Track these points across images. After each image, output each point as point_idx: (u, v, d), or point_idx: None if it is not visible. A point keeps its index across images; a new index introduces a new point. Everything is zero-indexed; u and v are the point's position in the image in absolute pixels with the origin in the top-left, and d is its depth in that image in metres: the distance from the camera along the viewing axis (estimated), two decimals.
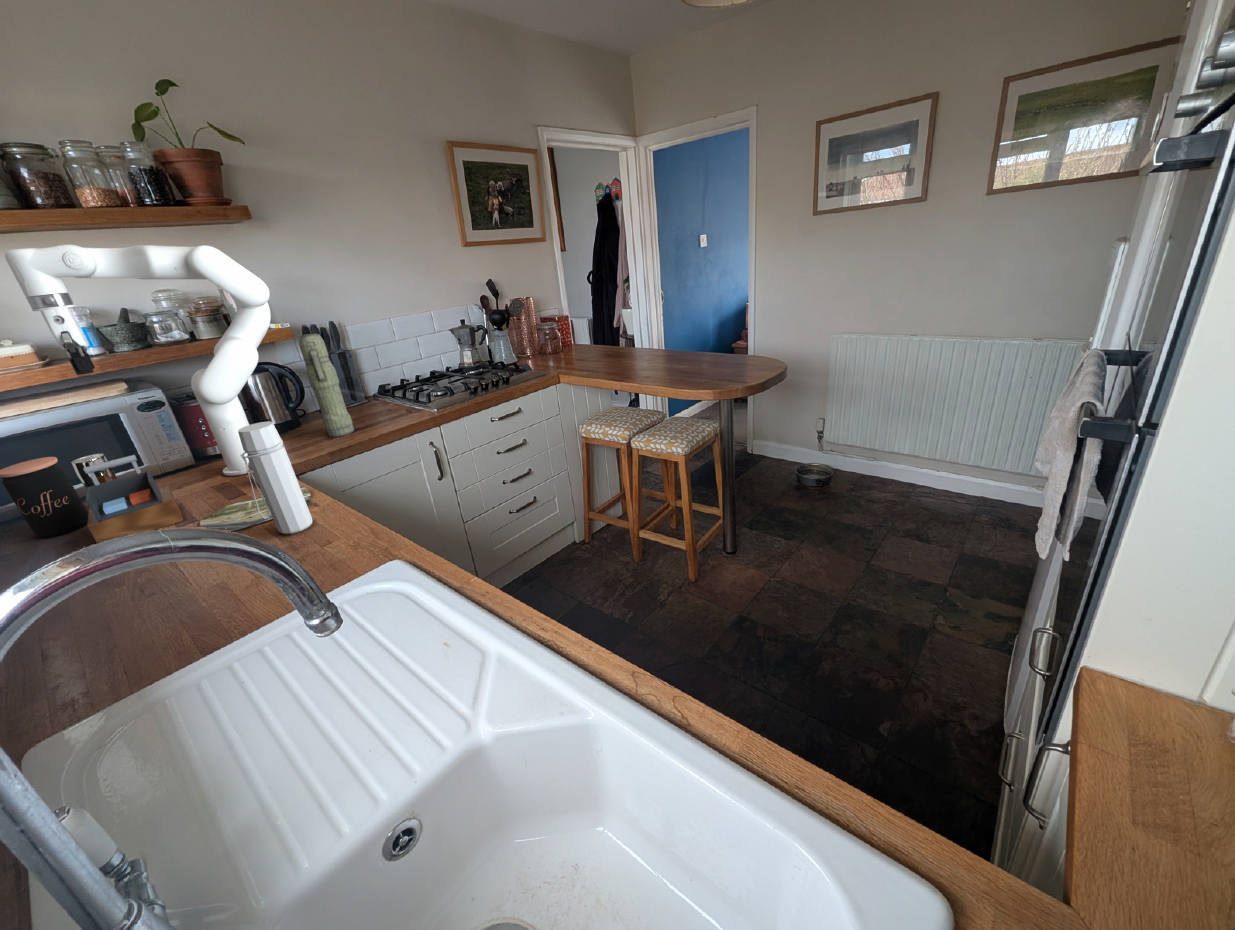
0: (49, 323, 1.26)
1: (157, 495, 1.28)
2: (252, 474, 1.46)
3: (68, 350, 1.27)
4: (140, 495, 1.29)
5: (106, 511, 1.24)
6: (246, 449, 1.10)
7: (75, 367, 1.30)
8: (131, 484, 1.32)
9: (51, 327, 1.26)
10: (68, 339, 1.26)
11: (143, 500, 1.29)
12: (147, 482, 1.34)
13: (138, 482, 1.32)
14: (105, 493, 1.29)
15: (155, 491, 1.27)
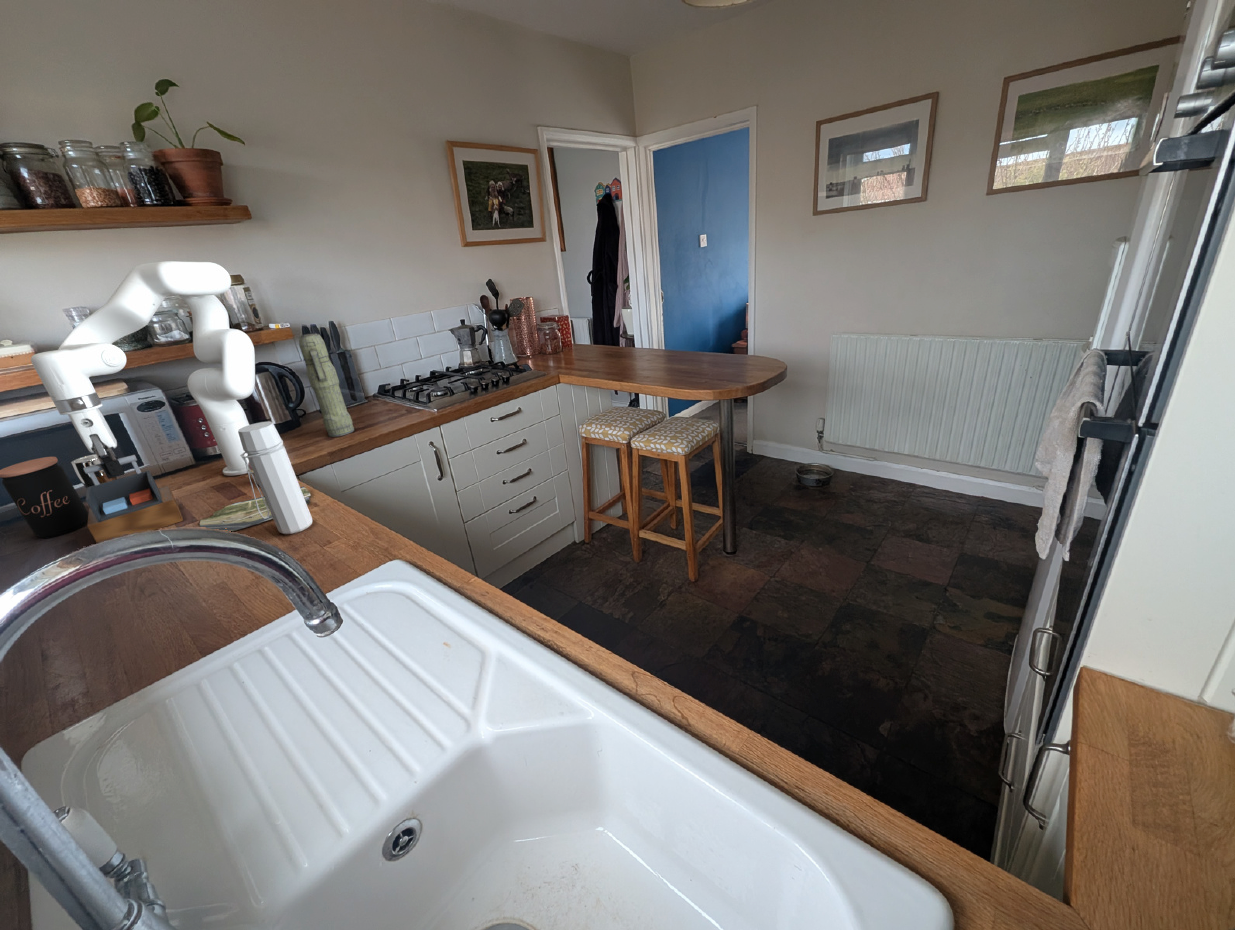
0: (77, 427, 1.20)
1: (157, 495, 1.28)
2: (252, 474, 1.46)
3: (100, 456, 1.24)
4: (140, 495, 1.29)
5: (106, 511, 1.24)
6: (246, 449, 1.10)
7: (106, 471, 1.27)
8: (131, 484, 1.32)
9: (79, 431, 1.20)
10: (103, 452, 1.23)
11: (143, 500, 1.29)
12: (147, 482, 1.34)
13: (138, 482, 1.32)
14: (105, 493, 1.29)
15: (155, 491, 1.27)
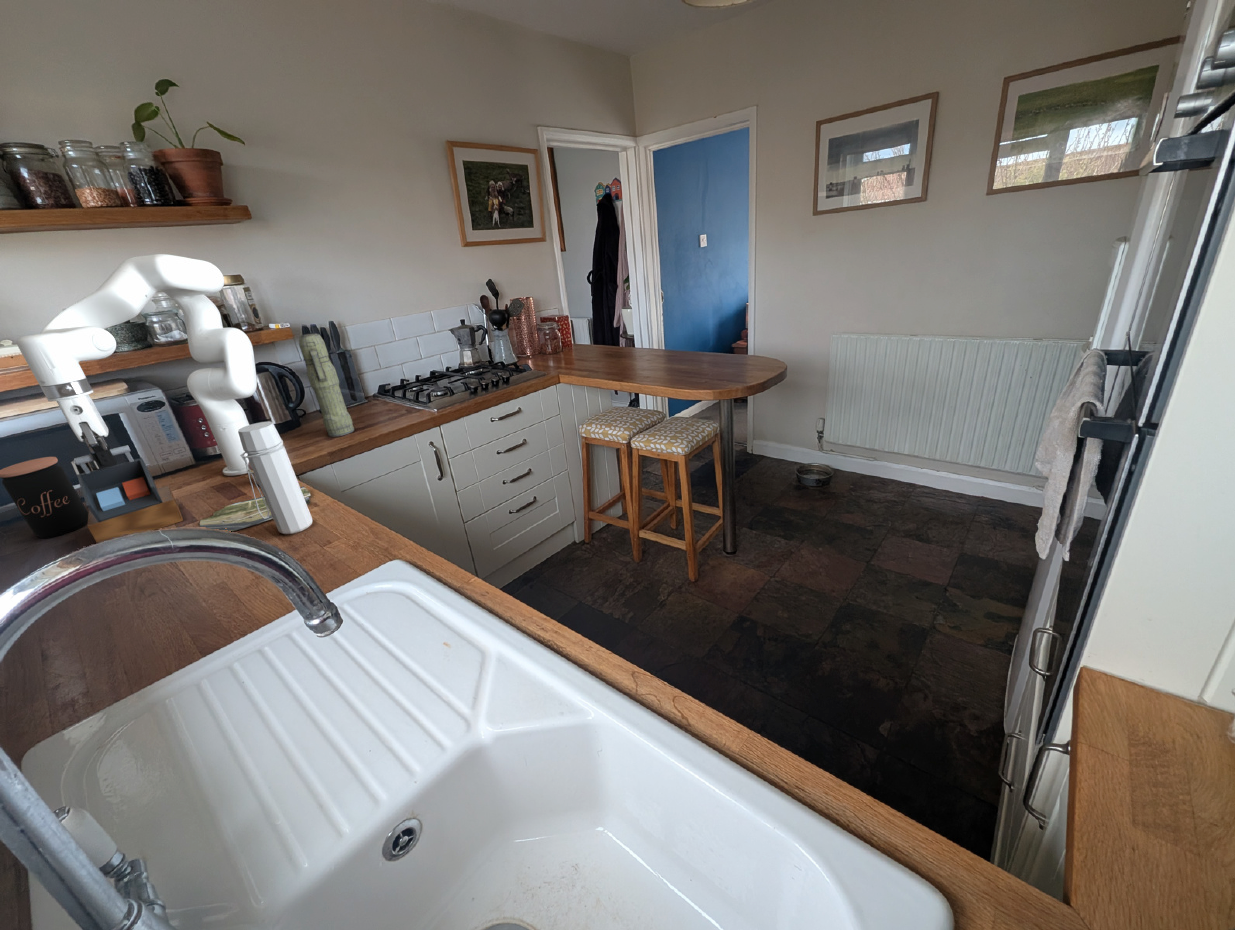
0: (66, 414, 1.14)
1: (158, 497, 1.27)
2: (252, 474, 1.46)
3: (90, 445, 1.18)
4: (137, 490, 1.27)
5: (104, 508, 1.23)
6: (246, 449, 1.10)
7: (97, 461, 1.21)
8: (123, 471, 1.28)
9: (68, 418, 1.14)
10: (93, 440, 1.17)
11: (140, 495, 1.27)
12: (139, 468, 1.30)
13: (130, 469, 1.29)
14: (96, 479, 1.25)
15: (156, 494, 1.26)
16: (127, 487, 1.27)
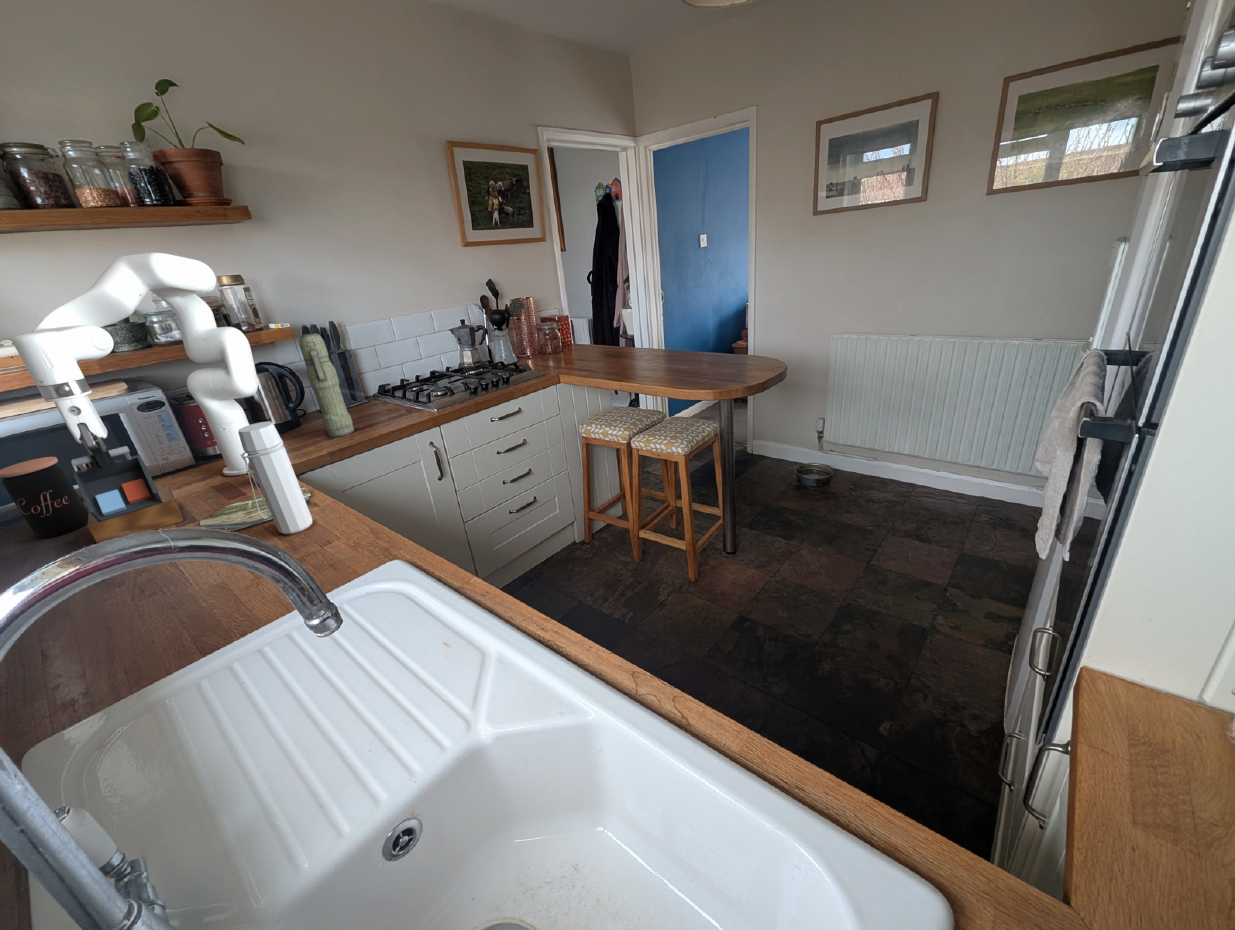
0: (64, 415, 1.11)
1: (159, 499, 1.27)
2: (252, 474, 1.46)
3: (89, 447, 1.15)
4: (138, 494, 1.25)
5: (106, 514, 1.22)
6: (246, 449, 1.10)
7: (96, 463, 1.18)
8: (119, 466, 1.25)
9: (66, 419, 1.11)
10: (92, 442, 1.14)
11: (142, 499, 1.26)
12: (136, 463, 1.27)
13: (127, 464, 1.26)
14: (91, 475, 1.22)
15: (158, 497, 1.26)
16: (127, 490, 1.25)
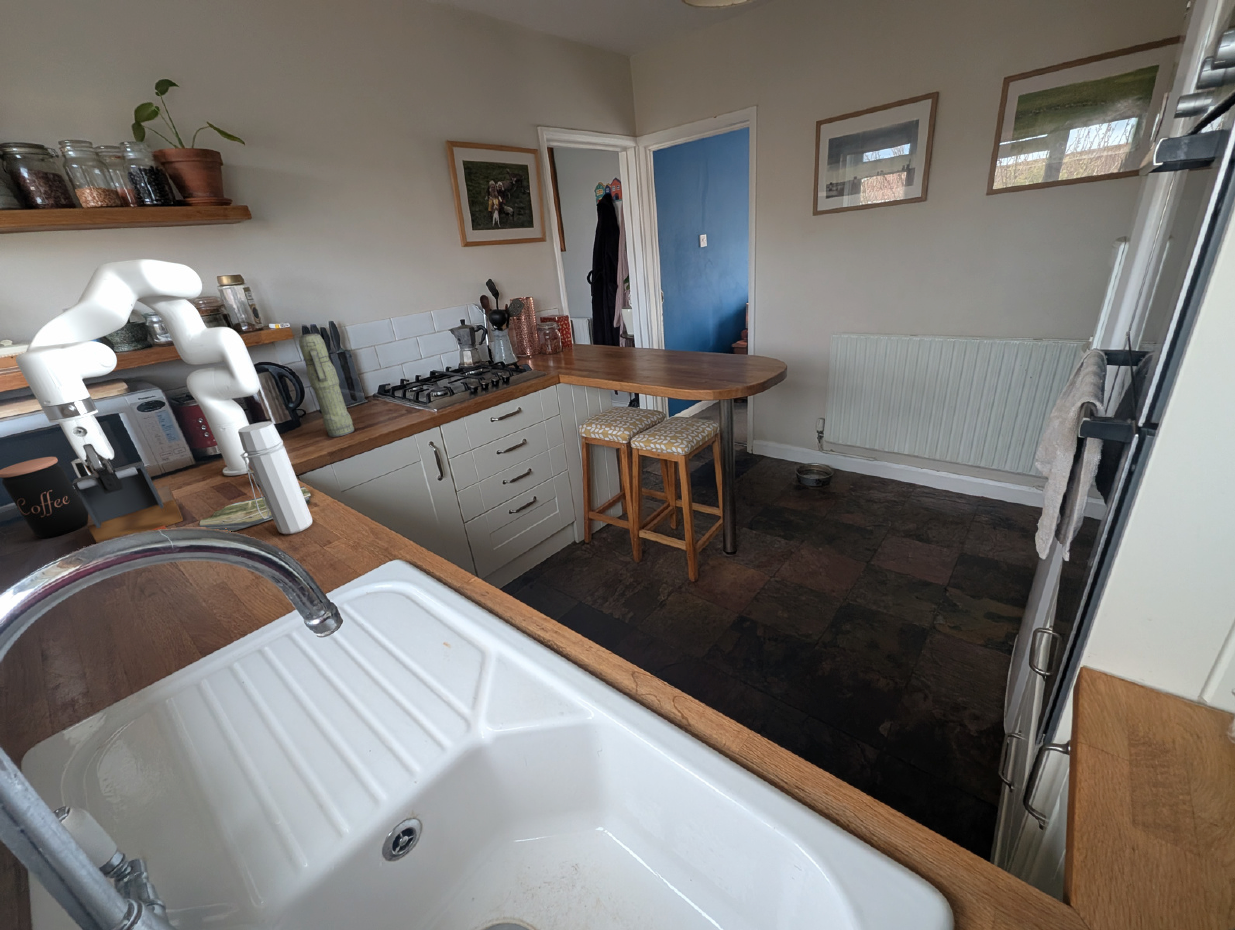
0: (69, 436, 1.05)
1: None
2: (252, 474, 1.46)
3: None
4: None
5: None
6: (246, 449, 1.10)
7: (102, 485, 1.13)
8: None
9: (71, 441, 1.06)
10: (98, 464, 1.08)
11: None
12: None
13: None
14: None
15: None
16: None
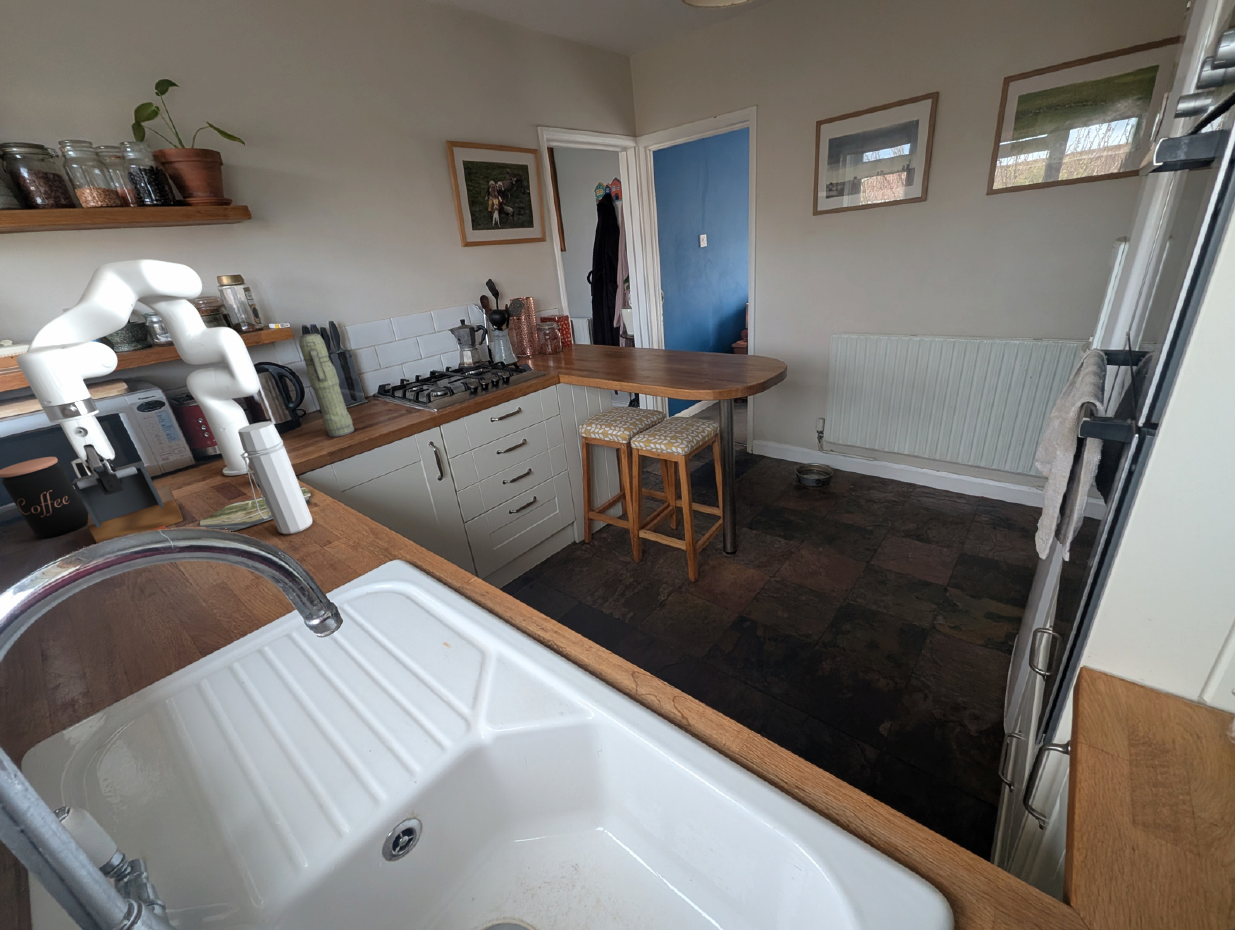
0: (70, 437, 1.05)
1: None
2: (252, 474, 1.46)
3: (95, 470, 1.08)
4: None
5: None
6: (246, 449, 1.10)
7: (103, 487, 1.12)
8: None
9: (72, 441, 1.06)
10: (97, 462, 1.07)
11: None
12: None
13: None
14: None
15: None
16: None
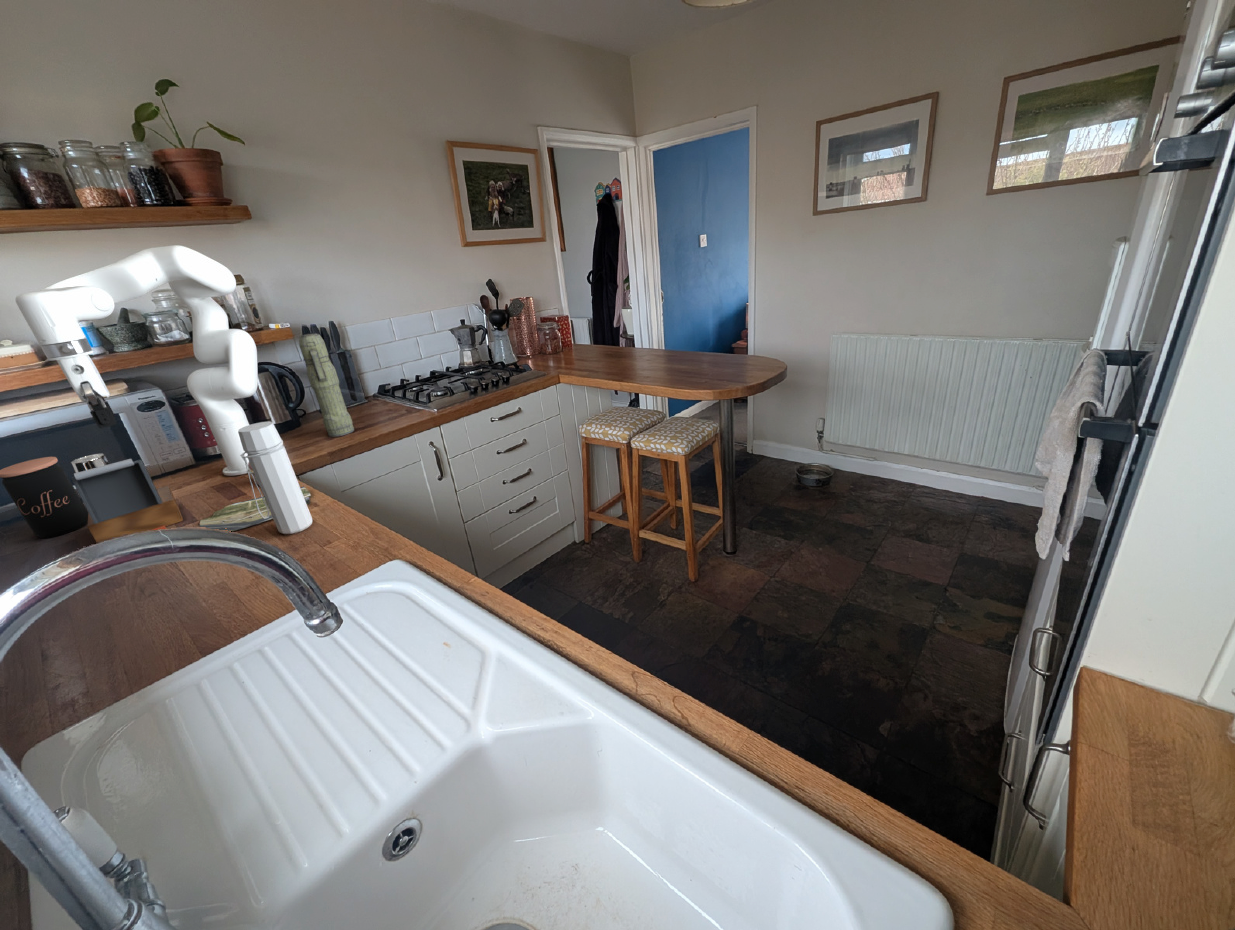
0: (67, 373, 1.13)
1: None
2: (252, 474, 1.46)
3: (90, 403, 1.14)
4: None
5: None
6: (246, 449, 1.10)
7: (97, 420, 1.18)
8: None
9: (70, 378, 1.14)
10: (89, 391, 1.14)
11: None
12: (135, 464, 1.23)
13: None
14: None
15: None
16: None
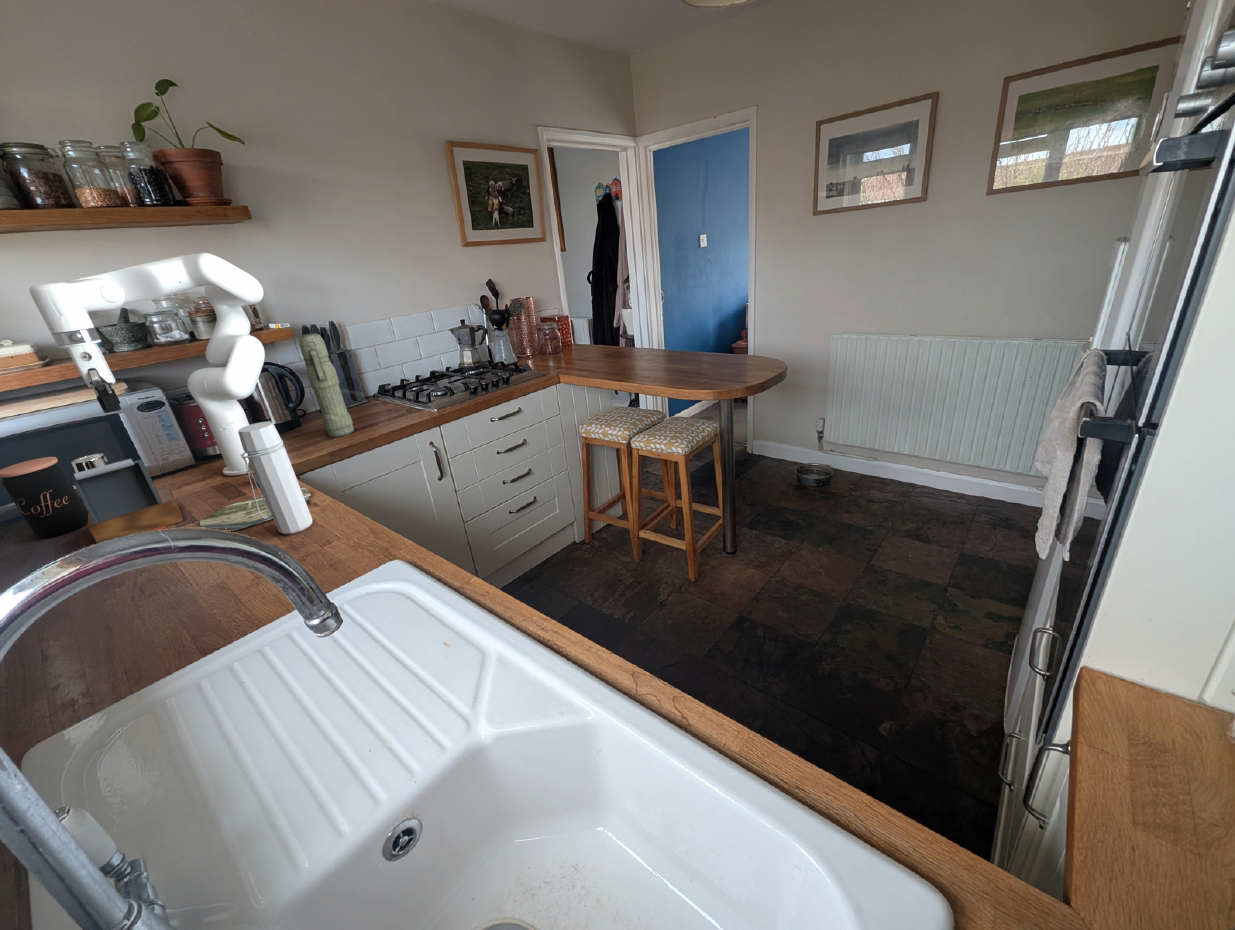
0: (76, 360, 1.20)
1: None
2: (252, 474, 1.46)
3: (96, 388, 1.21)
4: None
5: None
6: (246, 449, 1.10)
7: (102, 405, 1.24)
8: None
9: (78, 364, 1.20)
10: (96, 377, 1.20)
11: None
12: (135, 464, 1.23)
13: None
14: None
15: None
16: None
